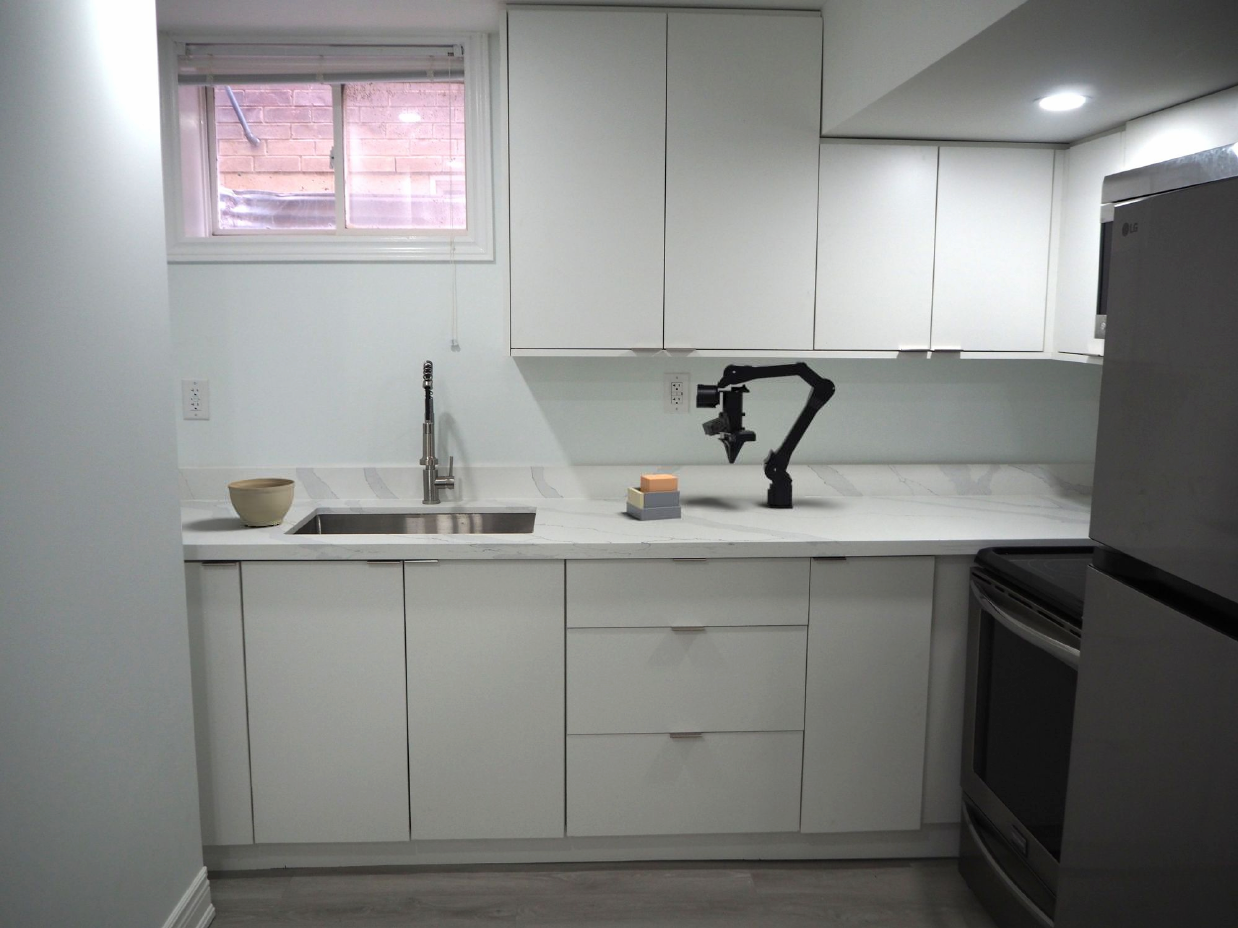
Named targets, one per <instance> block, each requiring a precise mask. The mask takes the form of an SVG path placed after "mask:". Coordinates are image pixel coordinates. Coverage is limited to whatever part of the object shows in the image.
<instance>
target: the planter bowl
mask: <svg viewBox="0 0 1238 928" xmlns="http://www.w3.org/2000/svg"><path fill="white" fill-rule="evenodd" d="M295 486H296V481H295V480H293V479H289V478H282V477H281V478H280V477H278V478H277V477H275V478H274V477H264V478H263V477H262V478H260V477H259V478H258V477H257V478H250V479H249V478H248V479H247V478H246V479H242V480H235V481H231V482H229V483H228V484H227V488H228V491H229V492H228V493H229V498H230V501H231V504H232V507H233V508H234V511H235V512H236V514H237V515H238V517H239V518H240V519H241V520H242V524H243V525H244V526H245V525H248V526H247V527H250V526H267V525H274V526H278V525H277V524H279V525H281V524H283V522H284V518H285V517H286V516H287V513H288V512H289V511H290V509H291V507H292V504H293V501H294V497H295ZM267 527H268V526H267Z"/></svg>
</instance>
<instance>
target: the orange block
mask: <svg viewBox="0 0 1238 928" xmlns="http://www.w3.org/2000/svg"><path fill="white" fill-rule="evenodd" d="M678 482H679V479H678V476H677V477H676V476H674V475H671V474H669V473H664V474H644V475H643V474H642V475H640V487H641V492H642V493H648V492H665V491H679V489H678V488H679V487H678V485H679V483H678Z"/></svg>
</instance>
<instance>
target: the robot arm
mask: <svg viewBox="0 0 1238 928" xmlns="http://www.w3.org/2000/svg"><path fill="white" fill-rule="evenodd" d="M794 376H795V377H796V376H798V377H800V378H801V379H802V380H803V381H804V382H805V383H807V385H809V386H810V390H809V392H808V395H807V399H806V402H805V405H804V406H803V408H802V409H801V411H800V413H799V414H798V416H797V417H796V419H795V420H794V422H793V424H792V426H791V427H790V429H789V430H788V432H787V435H786V436H785V437H784V439H783V441H782V442H781V444H780V445H779V447H777V448H776V450H775V451H774V450H773V449H772V448H771V449H770V450H769V452H768V453H767V456H766V457H765V458H764V459H763V463H764V464H763V472H764V476H765V477H766V478H767V479H768V480H770V482H771V483H769V487H768V488H767V490H766V491H767V492H766V494H767V495H766V503H767V505H768V507H769V508H776V509H777V508H780V509H781V508H782V509H783V508H785V509H787V508H788V509H793V507H794V506H793V480H794V479H792V476H791V474H790V473H789V472H788V471H787V469H788V467H789V463H790V459H791V457H792V454H793V452H794V451H795V449H796V448H797V446H798V444H799V443H800V441H801V440H802V438H803V437H804V434H805V433H806V432H807V430H808V428H809V426H810V425H811V423H812V421H813V420H814V418H815V417H816V415H817V413H819V411H820V410H821V409H822V408H823V407H824V406H825V405H826V404H827V403H828V402H829V401H830V399H832V397H833V396H834V395H835V392H836V385H835V384H834V382H833V381H832V380H831V379H830V378H826V377H824V376H823V377H822V376H820V375H819V374H818V373H817V372H815V371H814V370H813V369H812V368H811V367H810V366H808V364H807V363H806V362H805V361H803V360H798V361H795V362H785V363H784V362H783V363H782V362H781V363H772V364H770V363H769V364H760V365H752V364H751V365H750V364H743V363H729V364H727V365H726V366H725V367H724V369H723V372H722V377H721V379H720V380H718V381H717V384H705V383H698V384H696V398H695V399H696V400H695V402H696V403H695V407H696V409H717V406H720V405H721V406H722V408H721V410H722V411H719V413H718V417H716V418H712V419H711V420H707V421H705V422H703V423H702V424H701V425H702V429H703V432H704V434H705V435H706V436H707V435H708V436H709V437H712V436H713V437H714V436H716V435H717V436H719V437H717V440H718V441H719V442H721V443H722V445H723V446H724V449H725V453H726V458H727V461H728V464H730V465H732V464H733V465H734V463H735V461H736V460H737V457H738V455H739V453H740V452H741V450H742V449H743V447H744V444H745V443H747V442H751V443H752V442H756V441H757V434H756V433H755V431H754V430H750V429H746V427H745V426H743V417H746V412H744V411H743V410H744V409H743V408H744V394H749V393H750V392H751V391H750V389H749V388H748V387H747V386H746V384H745V383H747V382H751V381H754V380H759V379H771V378H782V377H794ZM740 384H742V385H741V386H736V385H740ZM730 385H731V386H730ZM729 386H730V389H726V388H727V387H729ZM721 393H722V404H721ZM705 435H704V436H705Z"/></svg>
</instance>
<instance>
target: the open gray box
mask: <svg viewBox="0 0 1238 928" xmlns="http://www.w3.org/2000/svg"><path fill="white" fill-rule="evenodd" d="M680 498H681V497H680V490H678V491H665V492H648V493H642V492H641V486H637V487H635V486H634V487H627V501H626V513H627V514H628V515H631V516H632V517H634V518H637V519H638V520H640V521H642V522H643V521H654V520H655V521H656V520H668V519H669V520H670V519H681V518H682V506H681V505H680Z"/></svg>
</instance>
